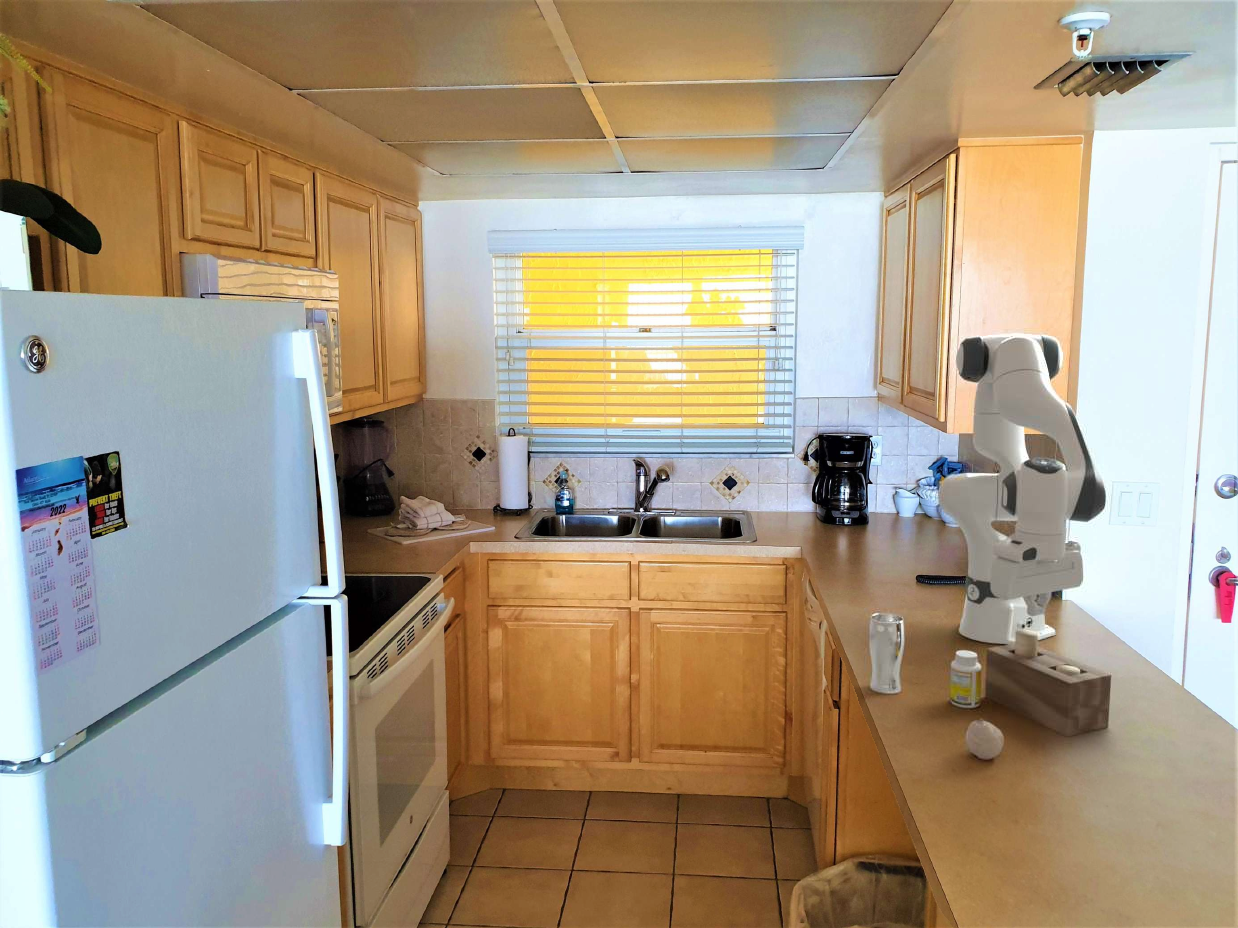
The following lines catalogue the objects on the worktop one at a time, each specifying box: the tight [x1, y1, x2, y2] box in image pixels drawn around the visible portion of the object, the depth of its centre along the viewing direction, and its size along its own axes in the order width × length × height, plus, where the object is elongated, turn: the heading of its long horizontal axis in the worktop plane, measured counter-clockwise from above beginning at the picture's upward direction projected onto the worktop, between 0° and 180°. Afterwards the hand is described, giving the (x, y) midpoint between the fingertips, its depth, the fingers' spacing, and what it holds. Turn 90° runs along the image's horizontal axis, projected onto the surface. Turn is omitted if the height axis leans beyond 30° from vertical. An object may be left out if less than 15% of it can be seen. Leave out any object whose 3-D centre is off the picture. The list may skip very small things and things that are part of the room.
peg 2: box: [1056, 665, 1080, 676], centre depth 170 cm, size 4×4×9 cm
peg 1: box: [1015, 630, 1039, 659], centre depth 179 cm, size 4×4×9 cm
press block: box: [984, 644, 1112, 737], centre depth 175 cm, size 10×20×10 cm, turn 22°
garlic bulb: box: [965, 718, 1005, 760], centre depth 157 cm, size 7×6×8 cm
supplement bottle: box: [949, 649, 982, 709], centre depth 179 cm, size 6×6×10 cm
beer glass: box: [868, 612, 906, 695], centre depth 187 cm, size 7×7×15 cm
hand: (1036, 614), depth 176 cm, fingers closed
